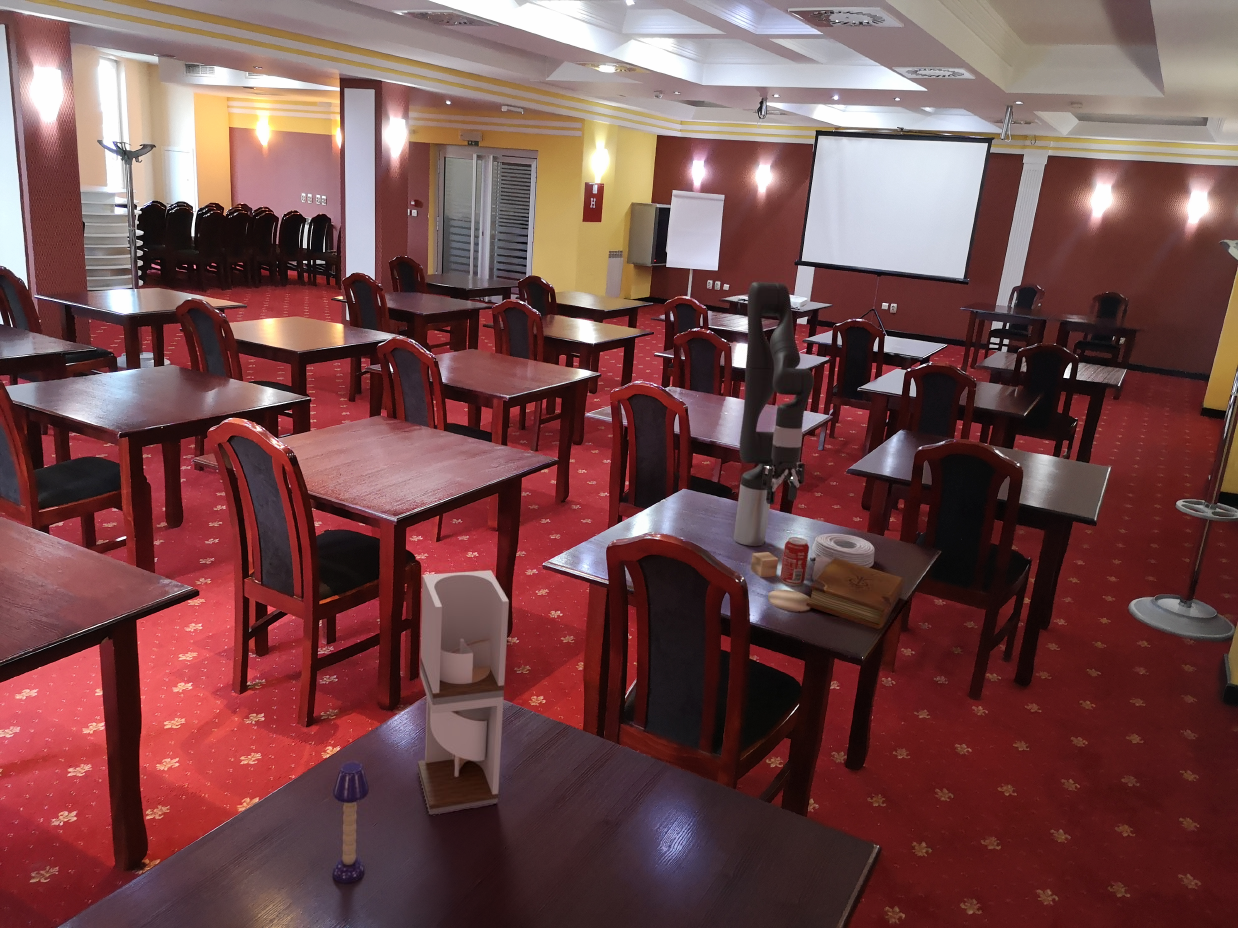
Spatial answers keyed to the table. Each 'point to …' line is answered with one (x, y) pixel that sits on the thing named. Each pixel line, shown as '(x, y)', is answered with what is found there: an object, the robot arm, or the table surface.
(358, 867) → the toy lamp
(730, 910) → the table surface
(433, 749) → the display case
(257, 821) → the table surface
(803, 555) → the beverage can
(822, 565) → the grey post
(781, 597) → the coaster
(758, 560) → the oak block
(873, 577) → the diary
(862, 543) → the cable
